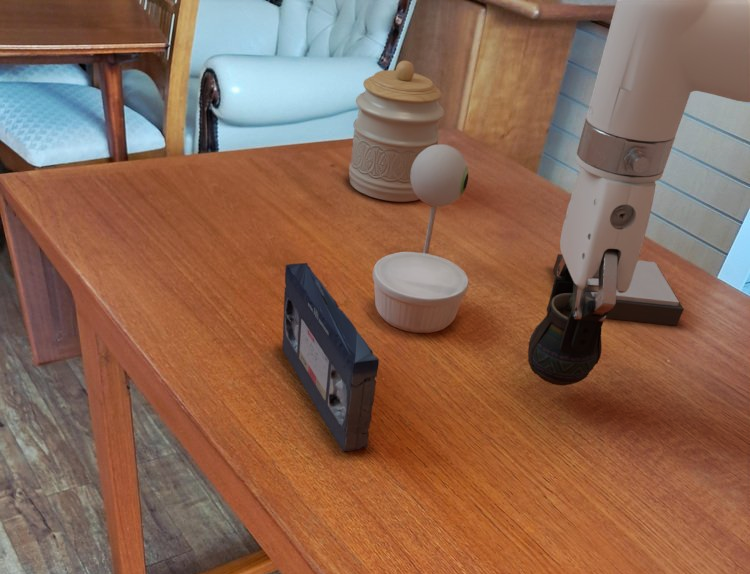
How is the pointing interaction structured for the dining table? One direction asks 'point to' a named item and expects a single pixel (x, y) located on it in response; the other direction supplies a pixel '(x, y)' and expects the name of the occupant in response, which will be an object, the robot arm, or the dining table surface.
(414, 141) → the jar
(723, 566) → the dining table surface
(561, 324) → the mate gourd
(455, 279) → the ramekin
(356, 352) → the vhs cassette tape
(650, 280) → the scale
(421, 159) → the lollipop
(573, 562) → the dining table surface
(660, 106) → the robot arm
